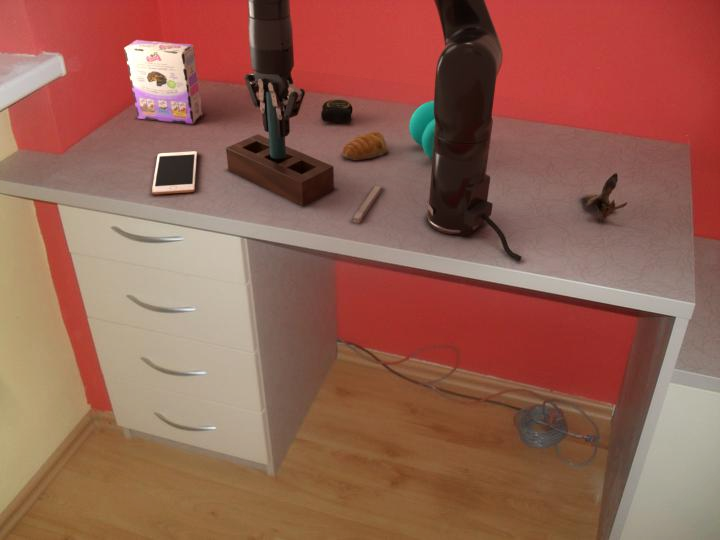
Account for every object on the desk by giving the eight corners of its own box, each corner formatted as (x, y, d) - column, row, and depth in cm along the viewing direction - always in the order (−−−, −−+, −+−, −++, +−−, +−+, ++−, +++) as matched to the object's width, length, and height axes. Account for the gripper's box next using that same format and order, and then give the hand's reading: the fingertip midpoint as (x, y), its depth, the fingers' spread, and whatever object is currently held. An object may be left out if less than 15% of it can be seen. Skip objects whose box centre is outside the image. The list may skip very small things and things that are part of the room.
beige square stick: (375, 189, 135) (375, 185, 134) (381, 190, 134) (381, 186, 134) (353, 222, 125) (353, 217, 124) (359, 223, 125) (359, 218, 124)
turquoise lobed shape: (449, 139, 152) (453, 95, 146) (468, 160, 145) (473, 114, 139) (406, 145, 150) (408, 101, 144) (423, 166, 142) (426, 120, 136)
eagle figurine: (635, 218, 125) (624, 185, 131) (621, 191, 120) (611, 159, 127) (592, 234, 128) (584, 201, 134) (578, 208, 124) (571, 176, 130)
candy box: (203, 114, 162) (194, 43, 152) (193, 125, 157) (183, 52, 147) (148, 108, 164) (136, 38, 154) (136, 118, 159) (122, 46, 150)
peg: (289, 155, 134) (285, 89, 127) (277, 160, 132) (273, 94, 125) (278, 150, 136) (274, 85, 128) (266, 155, 134) (262, 90, 126)
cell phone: (152, 194, 132) (151, 192, 131) (158, 156, 144) (157, 153, 144) (194, 192, 133) (194, 189, 132) (197, 153, 145) (196, 151, 145)
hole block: (259, 156, 145) (257, 133, 142) (333, 189, 134) (333, 166, 131) (228, 170, 140) (225, 147, 137) (303, 206, 129) (301, 182, 126)
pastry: (355, 166, 142) (355, 148, 140) (335, 154, 146) (334, 137, 144) (390, 153, 147) (390, 136, 145) (369, 142, 151) (370, 125, 149)
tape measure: (320, 125, 158) (320, 109, 155) (324, 113, 163) (324, 97, 161) (350, 126, 157) (350, 111, 155) (354, 114, 163) (354, 99, 160)
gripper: (227, 37, 123) (236, 129, 133) (284, 56, 115) (288, 151, 125) (259, 27, 127) (265, 116, 137) (315, 44, 120) (318, 138, 130)
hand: (276, 133), depth 131 cm, fingers closed on peg, 3 cm apart
